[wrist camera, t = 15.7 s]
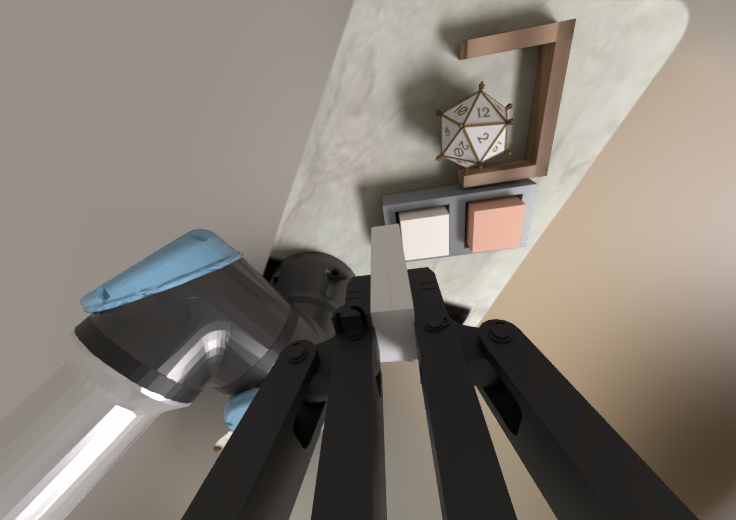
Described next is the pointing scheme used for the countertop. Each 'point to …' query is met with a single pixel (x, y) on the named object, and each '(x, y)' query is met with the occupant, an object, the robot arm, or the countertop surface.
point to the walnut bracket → (545, 97)
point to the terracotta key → (494, 223)
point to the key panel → (460, 207)
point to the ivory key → (425, 232)
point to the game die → (474, 130)
